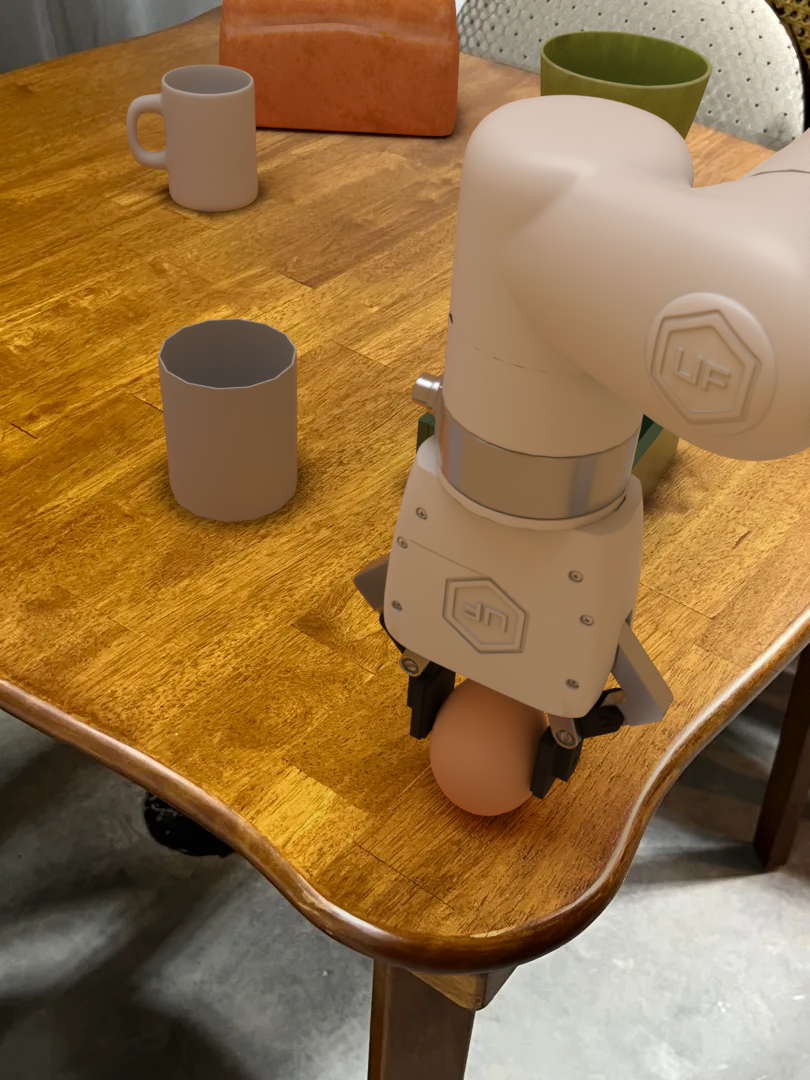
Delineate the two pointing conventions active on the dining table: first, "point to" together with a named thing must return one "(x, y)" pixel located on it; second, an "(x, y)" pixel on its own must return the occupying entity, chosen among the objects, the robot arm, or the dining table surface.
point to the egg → (485, 748)
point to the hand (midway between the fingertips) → (489, 745)
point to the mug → (203, 136)
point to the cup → (230, 418)
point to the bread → (347, 63)
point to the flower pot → (627, 72)
